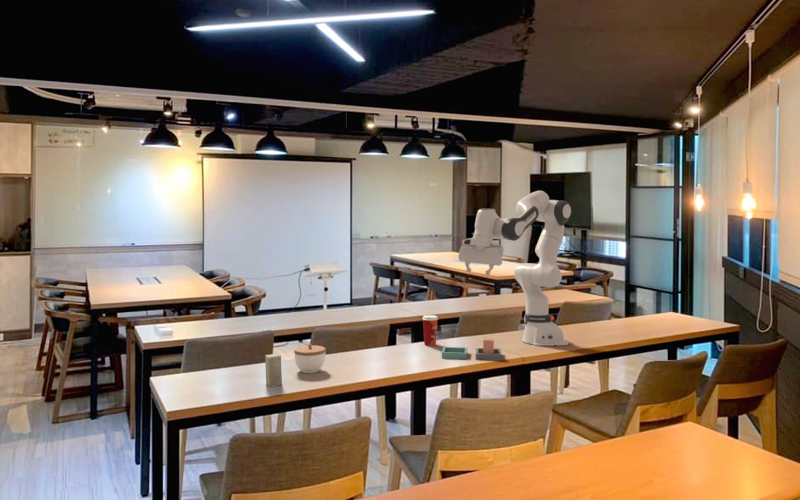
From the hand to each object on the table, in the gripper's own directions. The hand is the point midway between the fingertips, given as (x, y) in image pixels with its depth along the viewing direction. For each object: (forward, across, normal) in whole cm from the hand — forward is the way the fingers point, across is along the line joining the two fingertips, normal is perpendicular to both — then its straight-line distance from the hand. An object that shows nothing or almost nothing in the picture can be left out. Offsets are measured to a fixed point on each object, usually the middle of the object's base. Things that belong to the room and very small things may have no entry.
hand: (478, 273), depth 259 cm
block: (+36, -8, -6) cm, 38 cm away
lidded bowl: (+50, +44, +53) cm, 85 cm away
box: (+54, +43, +74) cm, 101 cm away
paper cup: (+37, +26, -13) cm, 47 cm away
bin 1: (+38, +6, 0) cm, 39 cm away
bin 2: (+36, -8, -6) cm, 38 cm away
